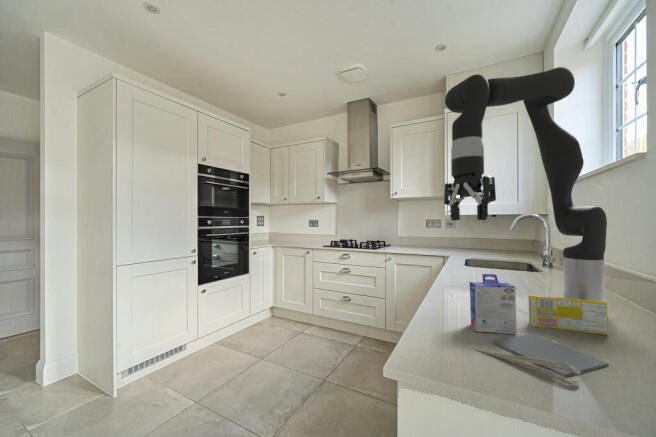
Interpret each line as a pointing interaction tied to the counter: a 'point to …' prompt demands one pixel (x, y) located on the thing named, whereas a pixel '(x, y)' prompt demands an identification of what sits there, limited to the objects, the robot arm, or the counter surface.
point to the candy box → (568, 314)
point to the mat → (549, 353)
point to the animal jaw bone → (523, 360)
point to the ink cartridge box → (493, 306)
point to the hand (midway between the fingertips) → (467, 220)
